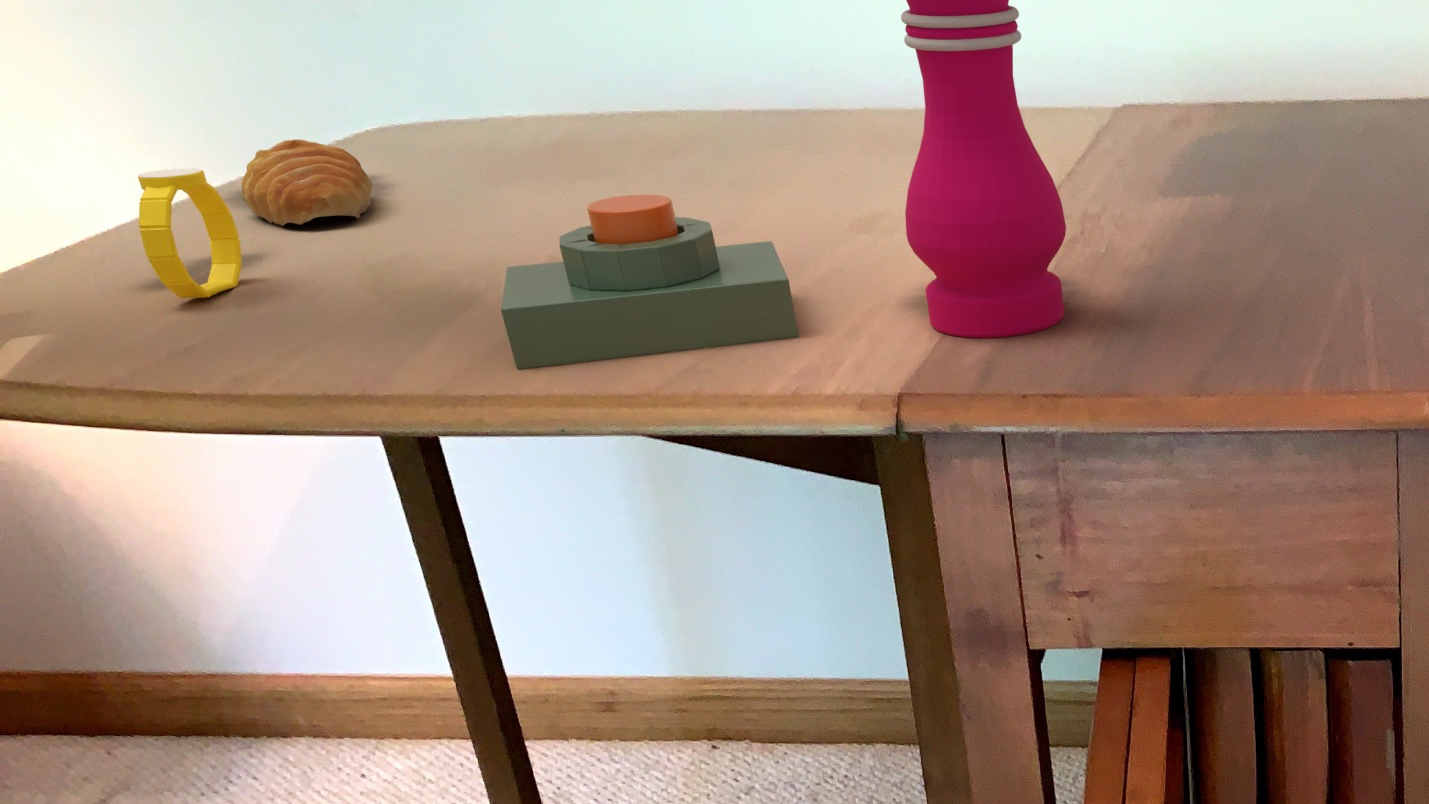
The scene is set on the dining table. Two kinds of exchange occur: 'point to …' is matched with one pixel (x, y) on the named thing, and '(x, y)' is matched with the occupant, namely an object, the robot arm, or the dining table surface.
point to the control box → (645, 298)
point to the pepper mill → (979, 178)
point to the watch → (161, 240)
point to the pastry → (305, 183)
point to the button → (632, 219)
